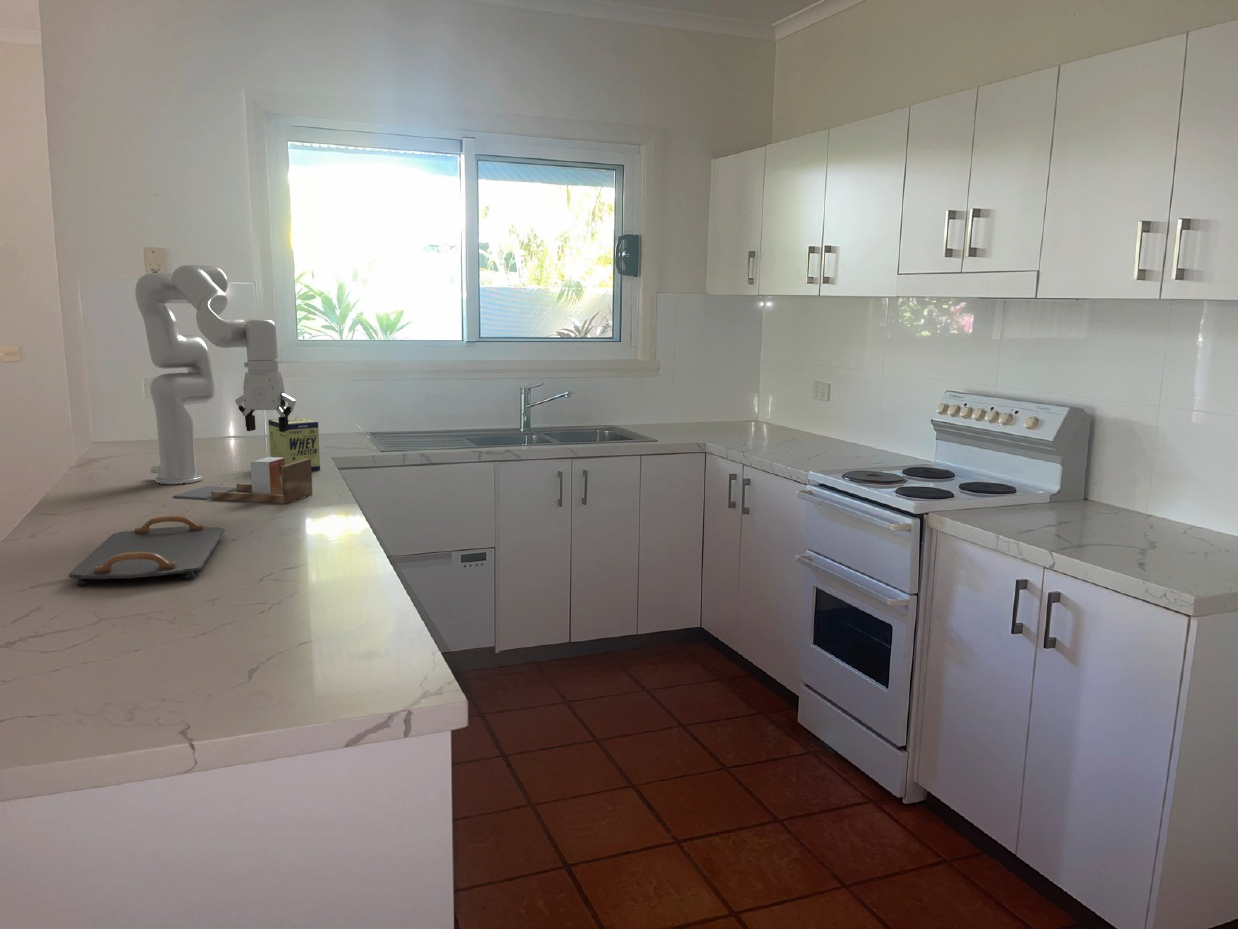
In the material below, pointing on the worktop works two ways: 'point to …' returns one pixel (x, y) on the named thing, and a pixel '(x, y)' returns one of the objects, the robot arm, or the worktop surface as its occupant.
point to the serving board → (150, 552)
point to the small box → (267, 475)
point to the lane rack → (294, 486)
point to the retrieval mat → (203, 492)
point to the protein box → (295, 441)
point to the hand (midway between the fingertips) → (267, 430)
